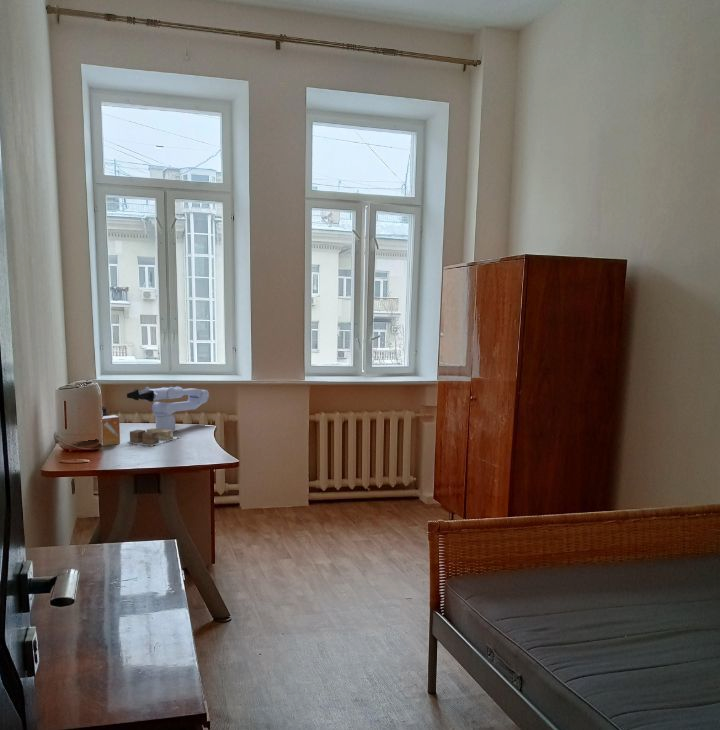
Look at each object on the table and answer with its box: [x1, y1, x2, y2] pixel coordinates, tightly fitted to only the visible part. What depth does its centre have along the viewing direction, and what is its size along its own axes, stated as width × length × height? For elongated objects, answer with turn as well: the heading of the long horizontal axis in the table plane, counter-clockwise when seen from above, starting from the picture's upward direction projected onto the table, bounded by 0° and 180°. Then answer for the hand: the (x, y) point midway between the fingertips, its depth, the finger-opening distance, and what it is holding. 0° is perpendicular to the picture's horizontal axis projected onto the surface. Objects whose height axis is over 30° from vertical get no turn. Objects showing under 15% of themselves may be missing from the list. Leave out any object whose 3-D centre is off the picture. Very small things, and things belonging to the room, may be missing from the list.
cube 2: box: [142, 431, 159, 445], centre depth 267 cm, size 5×5×5 cm
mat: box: [126, 436, 180, 447], centre depth 274 cm, size 18×16×1 cm
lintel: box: [145, 427, 174, 440], centre depth 278 cm, size 4×13×4 cm, turn 66°
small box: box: [101, 414, 121, 447], centre depth 267 cm, size 8×6×13 cm
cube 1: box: [129, 429, 147, 443], centre depth 270 cm, size 5×5×5 cm
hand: (133, 396), depth 273 cm, fingers open, 7 cm apart
